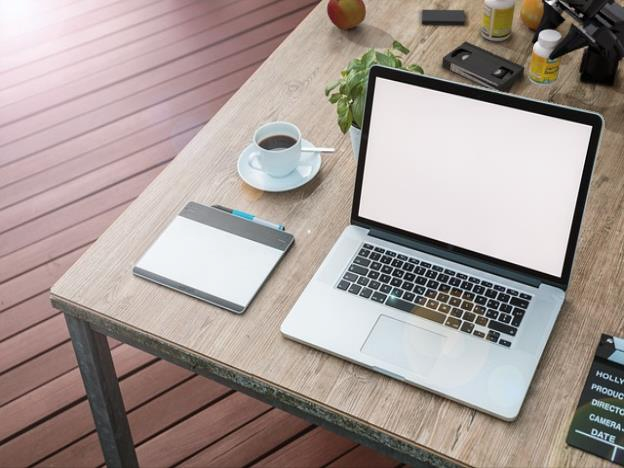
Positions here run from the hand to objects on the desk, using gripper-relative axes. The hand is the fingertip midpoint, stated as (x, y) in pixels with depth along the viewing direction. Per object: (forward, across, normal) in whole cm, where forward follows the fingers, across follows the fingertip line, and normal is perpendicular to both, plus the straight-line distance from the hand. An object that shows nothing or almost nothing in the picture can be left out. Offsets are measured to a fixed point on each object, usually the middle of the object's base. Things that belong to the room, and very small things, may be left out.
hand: (541, 51), depth 155 cm
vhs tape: (+10, -11, +3) cm, 16 cm away
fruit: (-3, -20, +17) cm, 27 cm away
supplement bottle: (+4, 0, +6) cm, 7 cm away
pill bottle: (+4, -21, +10) cm, 24 cm away
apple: (+23, -38, -9) cm, 45 cm away
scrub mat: (+9, -32, +5) cm, 33 cm away
